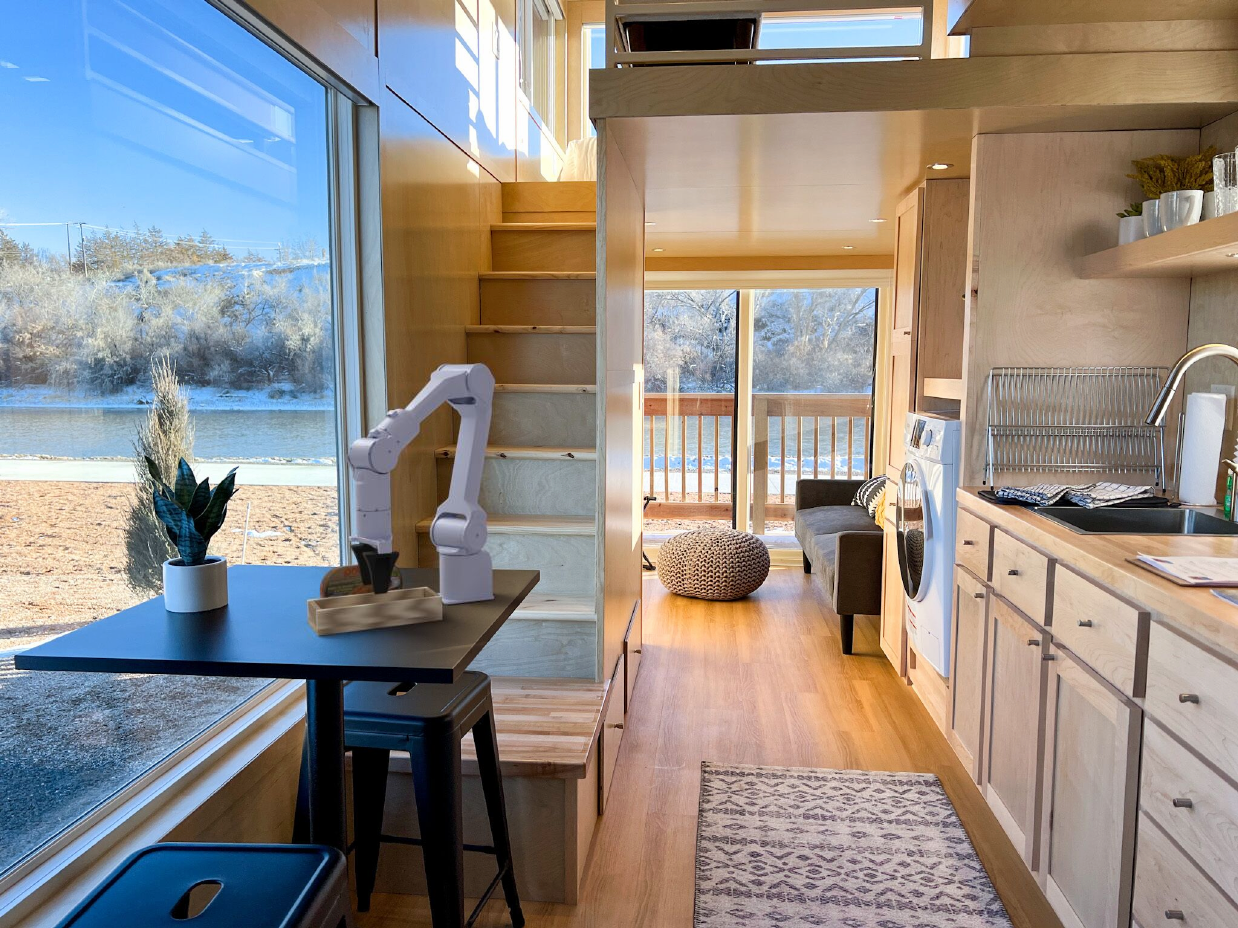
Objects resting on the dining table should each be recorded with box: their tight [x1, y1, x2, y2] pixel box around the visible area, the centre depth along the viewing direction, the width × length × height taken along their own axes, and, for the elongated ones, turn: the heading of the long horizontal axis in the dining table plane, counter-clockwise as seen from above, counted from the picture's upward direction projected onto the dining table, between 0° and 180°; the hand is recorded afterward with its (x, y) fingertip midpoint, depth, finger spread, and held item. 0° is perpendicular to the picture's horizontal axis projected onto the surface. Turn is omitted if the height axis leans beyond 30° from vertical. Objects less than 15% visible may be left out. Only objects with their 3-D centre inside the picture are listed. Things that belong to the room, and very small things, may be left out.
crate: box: [306, 586, 443, 636], centre depth 152 cm, size 21×9×4 cm, turn 119°
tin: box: [319, 563, 404, 598], centre depth 160 cm, size 15×3×8 cm, turn 132°
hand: (375, 588), depth 151 cm, fingers open, 7 cm apart
